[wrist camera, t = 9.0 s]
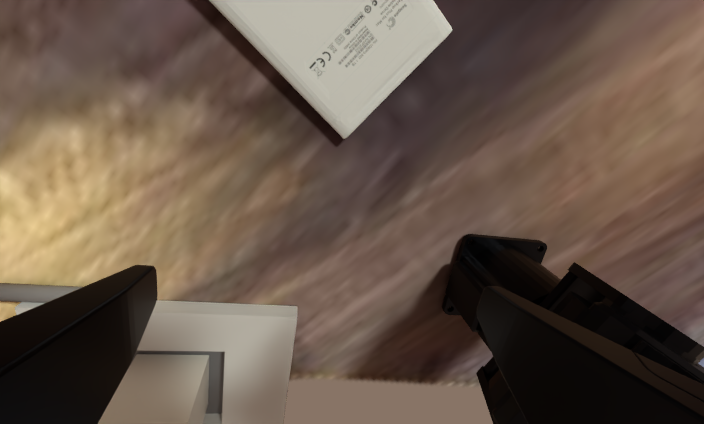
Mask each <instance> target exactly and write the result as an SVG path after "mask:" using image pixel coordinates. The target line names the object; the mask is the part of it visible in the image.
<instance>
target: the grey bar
mask: <svg viewBox="0 0 704 424" xmlns="http://www.w3.org/2000/svg"><path fill="white" fill-rule="evenodd" d="M80 288H82V287H74V286H53V285H31V284H10V283H0V301H13V302H39V303H47V302H49V301H51V300H54V299H56V298H58V297H61V296H63V295H66V294H68V293H70V292H73V291H75V290H77V289H80Z"/></svg>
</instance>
